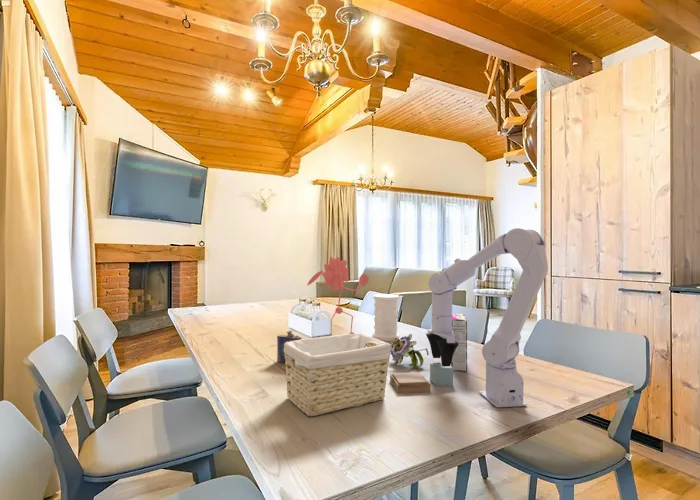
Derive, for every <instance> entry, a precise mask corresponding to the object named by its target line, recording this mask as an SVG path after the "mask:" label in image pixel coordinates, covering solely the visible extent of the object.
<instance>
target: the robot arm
mask: <svg viewBox="0 0 700 500" xmlns="http://www.w3.org/2000/svg"><path fill="white" fill-rule="evenodd" d="M505 254H510V255H511V256H513V257H514V258H515V259H516V260H517V262H518V264H519V266H520V267H521V269H522V271H521V274H520V277H519V279H518V281H517V284H516V286H515V288H514V291H513V293H512V296H511V298H510V301H509V302H508V305H507V307H506V310H505V312H504V314H503V316H502V319H501V321H500V323H499V326H498V327H497V328H496V330H495V331H494V332H493V334H492V335H491V338H490V340H488V341H487V342H485V344H484V345H483V346H482V350H481V354H482V357H483V359H484V360H485V362H486V363H485V390H480V391H479V394H480V395H481V396H482V397H484V398H485V399H486V400H487V401H489V402H490V403H491V404H492V405H493V406H495V408H509V407H511V408H512V407H513V408H514V407H526V406H527V403H526V402H525V401H524V378H523V376H522V375H521V374H520V373H519V372H518V370H517V363H516V359H515V358H517V357H518V355H519V353H520V341H521V339H522V336H521V332H522V330H523V327H524V325H525V323H526V321H527V319H528V317H529V314H530V312H531V309H532V307H533V305H534V303H535V300H536V298H537V296H538V293H539V291H540V289H541V287H542V284H543V282H544V281H545V277H546V276H547V274H548V271H549V264H548V259H547V253H546V241H545V240H544V239H543V238H542V236H541V235H540V233H539V232H537V231H536V230H534V229H523V228H519V227H518V228H517V227H516V228H512V229H510V230H509V231H508V232H507V233H504V234H501V235H499V236H498V237H497V238H495V239H494V240H493V241H492V242H490V243H489V244H487V245H486V246H484V247H483V248H482V249H480V250H479V251H478V252H477V253H475V254H474V255H473V256H471V257H470V258H466V257H462V258H459V257H458V258H455V260H454V263H452V264H451V265H449V266H448V267H447V268H446V267H444V268H441V273H440V272H435V273H433V274H432V275H431V276H430V277H429V279H428V288H429V290H430V291H431V324H429V329H427V333H426V338H427V339H428V342H429V345H430V351H431V355H432V358H433V359H440V360H441V361H440V363H442V366H451V361H452V357H453V354H454V352H455V350H456V348H457V346H458V342H456V341H455V336H454V335H453V331H452V313H453V297H454V296H453V295H454V293H453V292H455V290H456V288H457V287H458V286H460V285H461V284H463V283H464V282H466V281H468V280H470V279H471V278H472V277H474V276H475V274H476V271H477V269H478V268H480V267H482V266H484V265H485V264H487V263H489V262H490V261H492V260H494V259H495V258H497V257H499V256H501V255H505Z"/></svg>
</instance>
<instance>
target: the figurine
mask: <svg viewBox="0 0 700 500" xmlns="http://www.w3.org/2000/svg"><path fill="white" fill-rule="evenodd" d="M347 263H348V262H347V260H345V259H343V260H341V258H340V257H339V256H338V257H336V258H334V257H332V256H331V257H330V258H329V262H328V263H324V266H323V267H324V270H325V271H323V270H322V269H321V270H319V271H318V272H316V273H315V274H314V275H313V276H312V277H311V278H310V280H308V282H307V285H306V286H310V285H311V284H312V283H314V282H316V280H318V278H320V276H321V274H322V276H323V279H324V281H325V285H326V286H327V287H328V290H329V291H330V292H332V291H336V290H340V289H341V290H340V292H339V296H338V304H337V307H336V308H335V310H334V311H335V312H334V314H333V315H332V317H331V319H330V336H335V335H333V334H332V333H333V332H332V330H333V329H332V321H333V318H334V317H335V315H336V314H338V315H340V314H342V313H344V314H346V315H349V316H350V317H351V323H350V332H348V334H355V332H352V331H353V319H354V318H353V317H354V316H353V315H352V314H350V313H348V312H345V311H343V308H342V307H341V306H340V303H341V297H342V292H343V290H344V289H345V290H349V291H352V292H356V291H357V290H358V288H359V287H360V285H361V286H362V287H365V286H366V285H367V284H368V283H369V281H370V280H369V275H367V274H366V273H363V274H361V275H360V276H359V278H358V281H359V282H358V284H357V286H356V288H355V289H353V288H349V287H345V286H344V282H349V281H350V276H349V271H350V270H349V268H348V267H346V266H347ZM330 285H331V286H330ZM331 287H332V288H331Z"/></svg>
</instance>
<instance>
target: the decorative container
mask: <svg viewBox="0 0 700 500" xmlns="http://www.w3.org/2000/svg"><path fill="white" fill-rule="evenodd" d="M399 299H400V296H399V295H398V294H389V293H380V294H379V293H378V294H377V293H376V294H373V300H374V305H373V306H374V311H373V313H374V319H373V321H374V325H373V328H374V332H373V333H372V335H371V337H372V338H375V339H378V340H381V341H383V342H385V341H390V342H391V341H393V340H394V339H395V338H399V339H400V334H399V333H398V321H399V319H398V314H399V312H398V307H399V304H398V300H399Z"/></svg>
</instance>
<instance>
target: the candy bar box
mask: <svg viewBox="0 0 700 500" xmlns="http://www.w3.org/2000/svg"><path fill="white" fill-rule="evenodd" d="M452 331H453V335H454V336H455V341H456V342H458V346H457V348H456V350H455V352H454V354H453V357H452V361H451V365H450V366H451V367H453V372H468V320H467V317H466V315H465V314H464V313H453V312H452Z"/></svg>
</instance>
